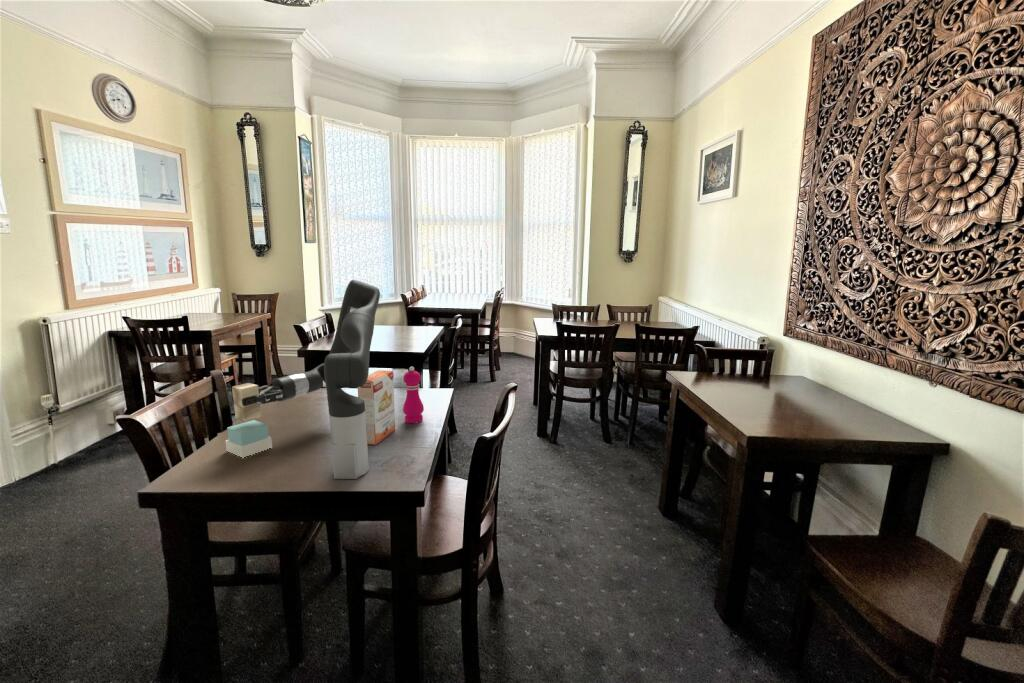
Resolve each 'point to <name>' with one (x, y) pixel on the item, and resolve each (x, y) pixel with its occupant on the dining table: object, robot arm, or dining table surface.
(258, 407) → the birch post
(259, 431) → the tower top
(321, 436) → the dining table surface
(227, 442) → the tower base
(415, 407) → the pepper mill
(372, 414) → the cracker box
